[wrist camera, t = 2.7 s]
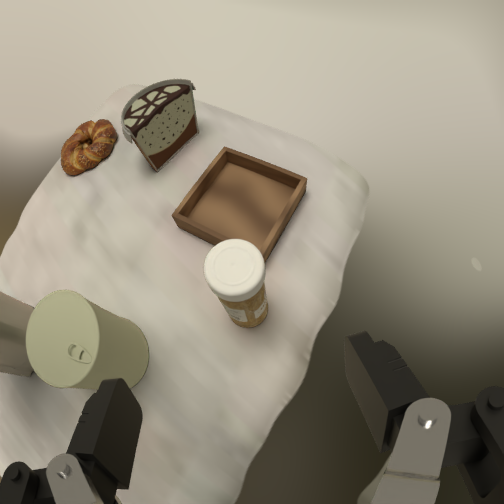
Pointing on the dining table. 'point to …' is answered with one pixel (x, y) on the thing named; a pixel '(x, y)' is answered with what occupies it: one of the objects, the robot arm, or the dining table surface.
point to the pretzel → (87, 146)
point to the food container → (161, 120)
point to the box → (241, 201)
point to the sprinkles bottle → (238, 280)
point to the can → (83, 343)
